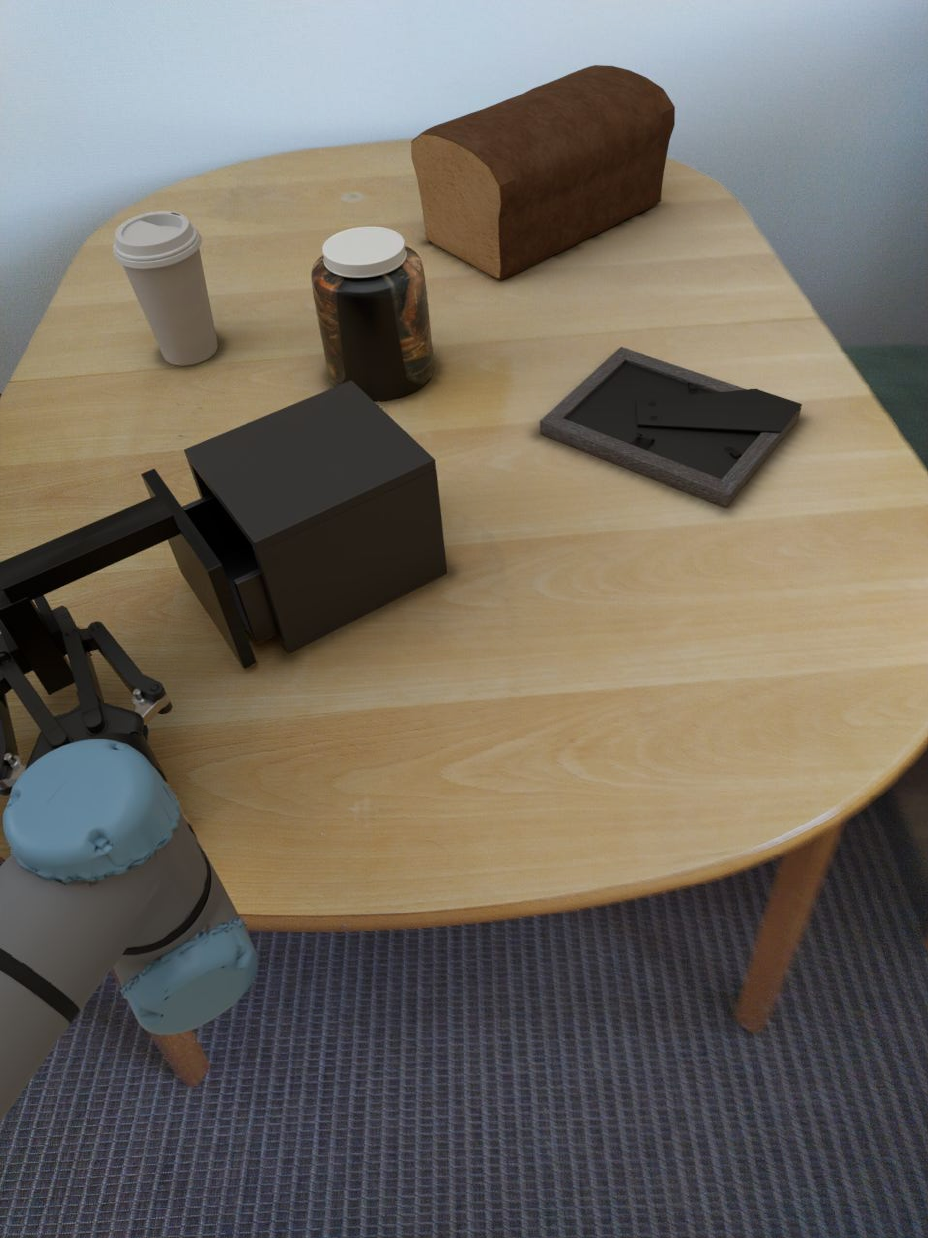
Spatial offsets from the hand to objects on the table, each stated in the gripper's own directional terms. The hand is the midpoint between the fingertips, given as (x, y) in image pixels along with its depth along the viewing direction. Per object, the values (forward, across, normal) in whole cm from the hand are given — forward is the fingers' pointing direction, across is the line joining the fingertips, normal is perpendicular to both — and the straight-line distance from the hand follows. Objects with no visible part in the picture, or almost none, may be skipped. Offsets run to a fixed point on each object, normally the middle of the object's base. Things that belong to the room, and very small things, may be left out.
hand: (18, 602), depth 77 cm
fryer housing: (-6, +25, -6) cm, 26 cm away
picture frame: (-9, +63, -7) cm, 64 cm away
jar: (+19, +44, -7) cm, 49 cm away
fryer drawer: (-6, +14, -6) cm, 16 cm away
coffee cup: (+37, +28, -7) cm, 47 cm away
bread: (+35, +80, -7) cm, 87 cm away
